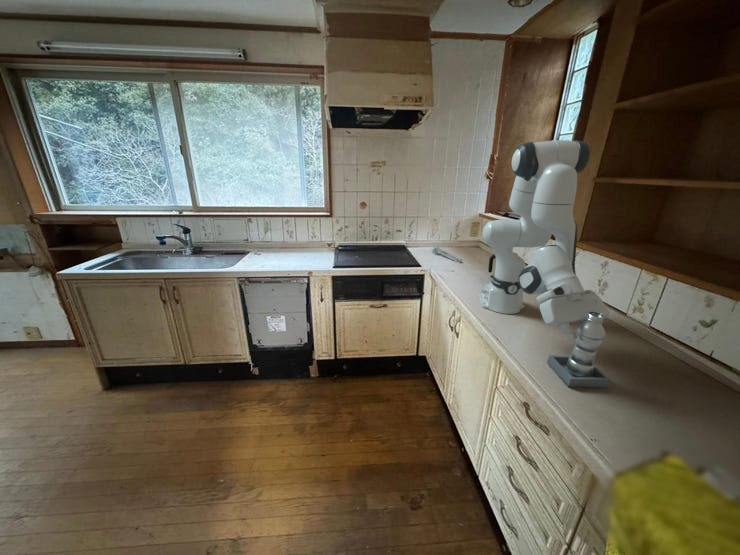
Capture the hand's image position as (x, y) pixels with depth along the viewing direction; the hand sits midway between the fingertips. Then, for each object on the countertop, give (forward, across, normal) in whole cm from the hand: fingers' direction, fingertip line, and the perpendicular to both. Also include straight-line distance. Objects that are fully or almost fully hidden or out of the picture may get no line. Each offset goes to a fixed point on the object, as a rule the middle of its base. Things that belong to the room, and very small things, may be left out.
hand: (586, 336), depth 84 cm
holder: (+10, 0, -9) cm, 13 cm away
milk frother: (-43, -30, -63) cm, 82 cm away
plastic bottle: (+9, 0, -9) cm, 13 cm away
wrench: (-77, -20, -97) cm, 125 cm away
